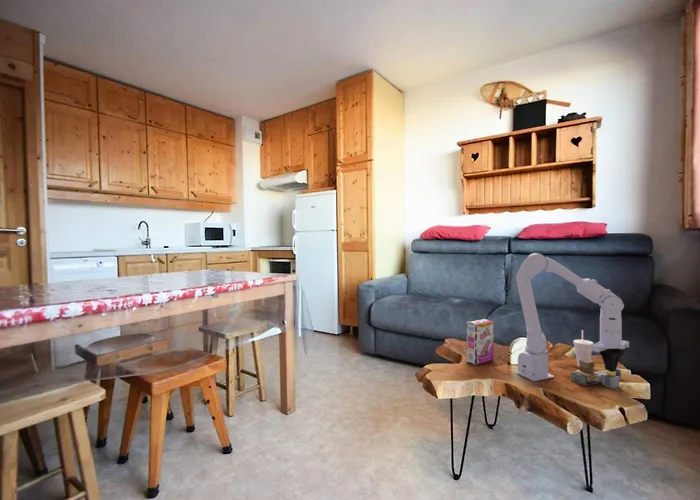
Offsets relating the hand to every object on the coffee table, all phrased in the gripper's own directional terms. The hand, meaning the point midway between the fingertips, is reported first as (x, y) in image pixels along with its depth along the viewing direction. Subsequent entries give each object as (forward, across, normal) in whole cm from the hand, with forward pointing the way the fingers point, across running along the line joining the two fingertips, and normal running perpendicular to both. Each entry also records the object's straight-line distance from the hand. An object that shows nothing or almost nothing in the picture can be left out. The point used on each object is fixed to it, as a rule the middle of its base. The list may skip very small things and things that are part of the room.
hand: (610, 370), depth 112 cm
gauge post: (+5, 0, 0) cm, 5 cm away
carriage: (+5, -4, +6) cm, 8 cm away
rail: (+5, +1, +6) cm, 8 cm away
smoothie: (+5, +8, +16) cm, 18 cm away
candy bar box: (+5, -24, +34) cm, 42 cm away
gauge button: (+5, 0, 0) cm, 5 cm away
